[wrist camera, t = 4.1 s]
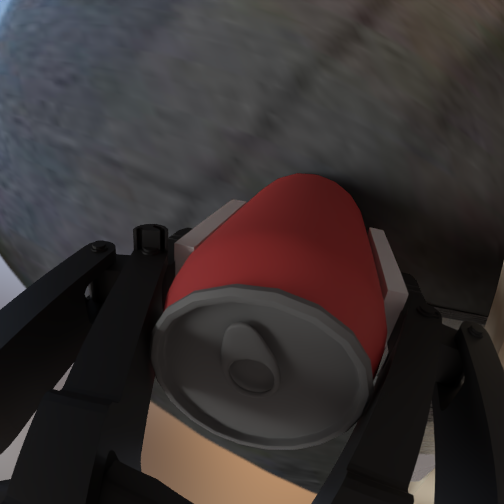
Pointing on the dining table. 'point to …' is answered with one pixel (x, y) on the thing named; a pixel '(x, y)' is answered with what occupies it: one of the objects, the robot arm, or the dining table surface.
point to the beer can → (276, 320)
